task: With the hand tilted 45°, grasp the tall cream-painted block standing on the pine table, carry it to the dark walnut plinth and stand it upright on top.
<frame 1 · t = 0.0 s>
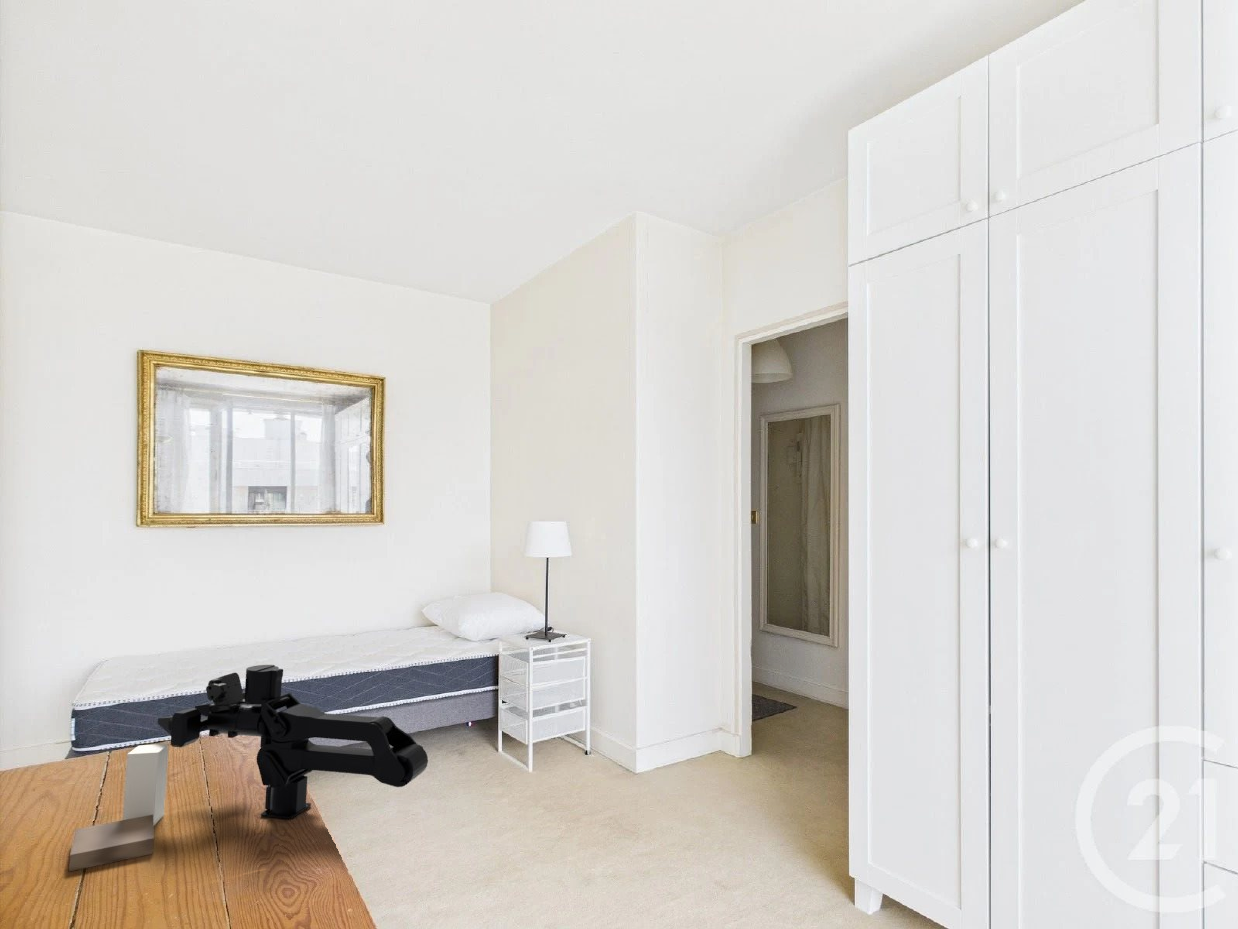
hand: (177, 714, 139), 16 cm above the table, tool horizontal, fingers open, 9 cm apart
walnut plinth: (113, 849, 117), on the table
cream block: (143, 822, 127), on the table
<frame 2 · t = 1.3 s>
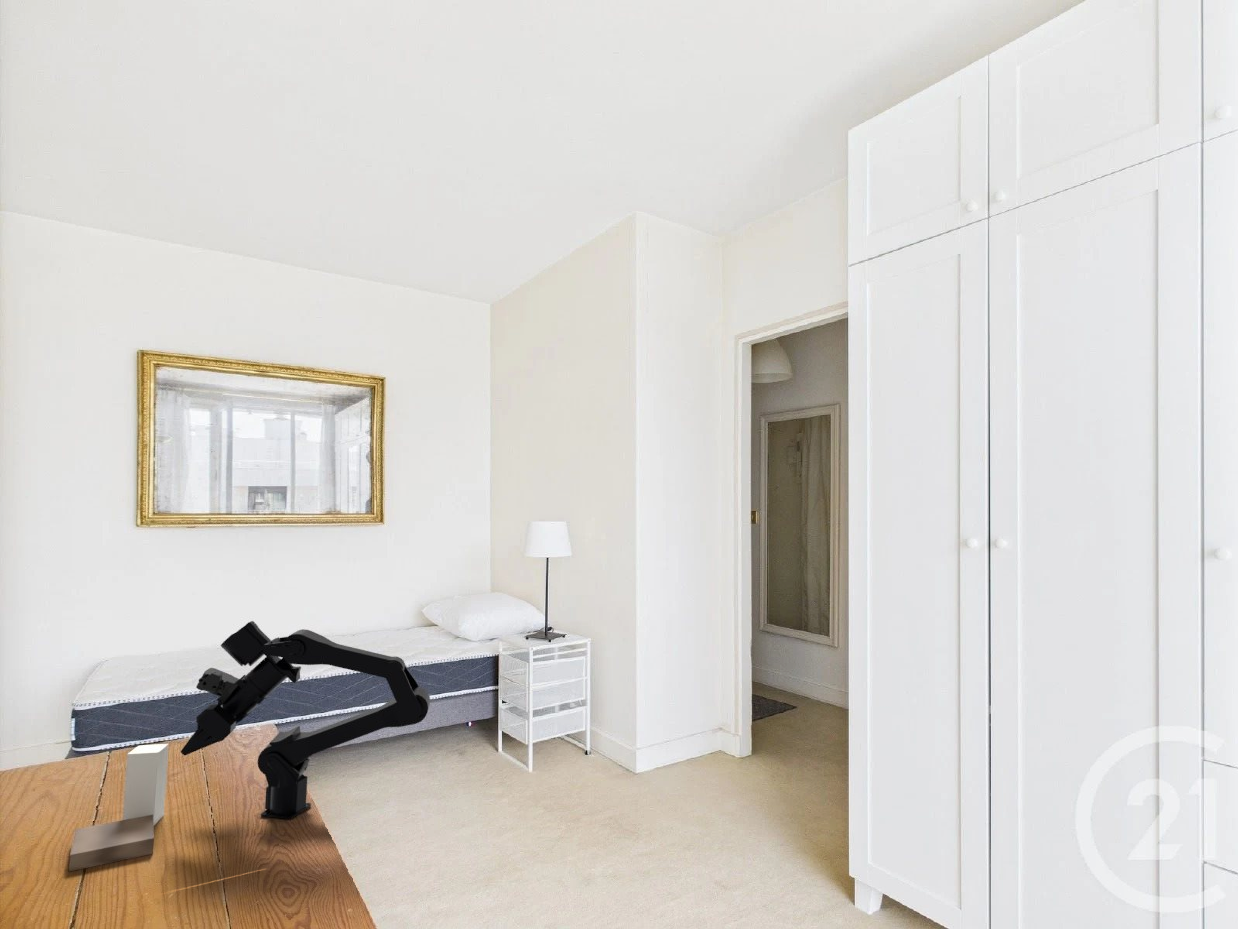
hand: (191, 745, 130), 13 cm above the table, tool tilted 45°, fingers open, 9 cm apart
nothing on the table moved.
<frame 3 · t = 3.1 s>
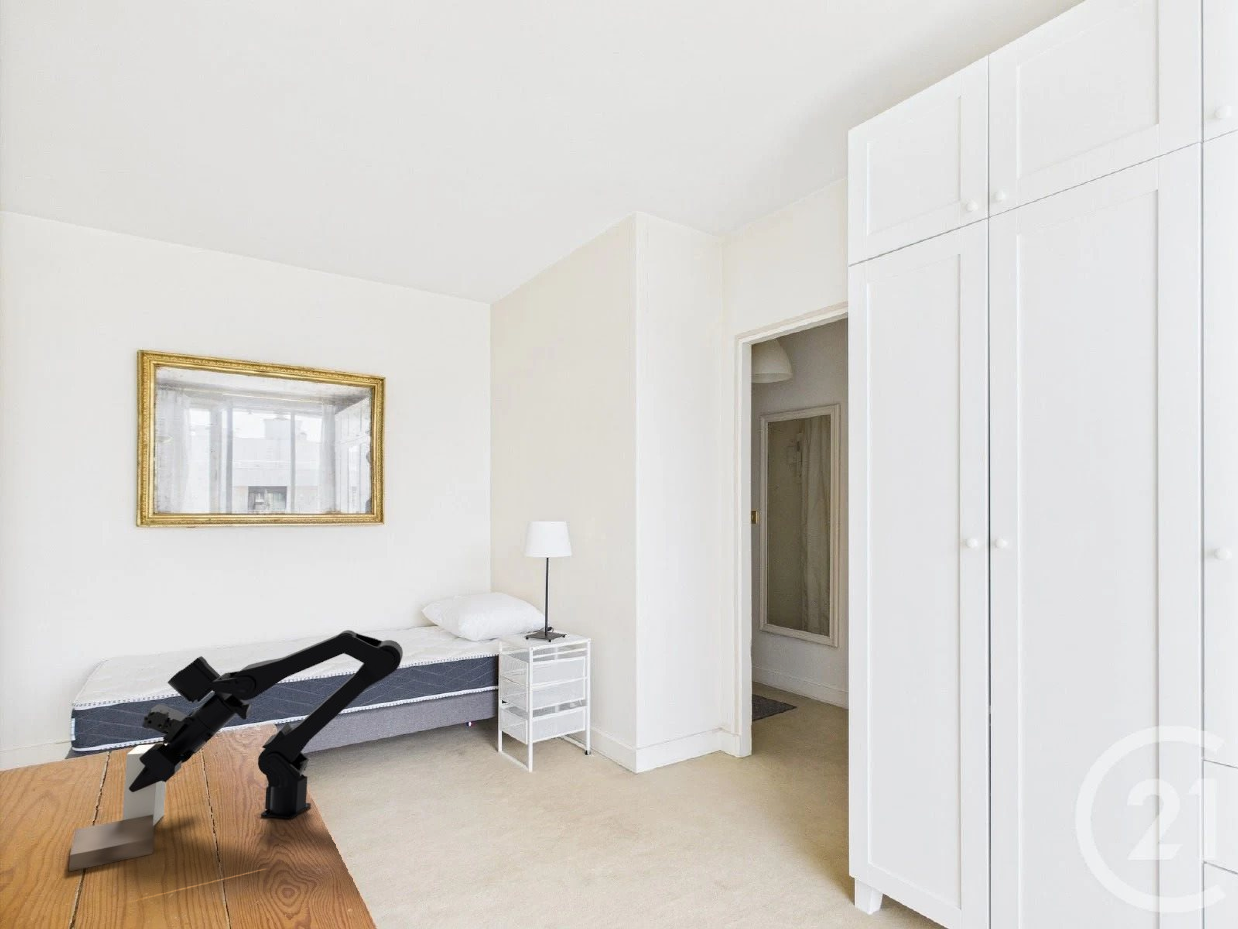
hand: (137, 784, 127), 7 cm above the table, tool tilted 45°, fingers closed on cream block, 5 cm apart
cream block: (143, 821, 127), on the table, touching gripper
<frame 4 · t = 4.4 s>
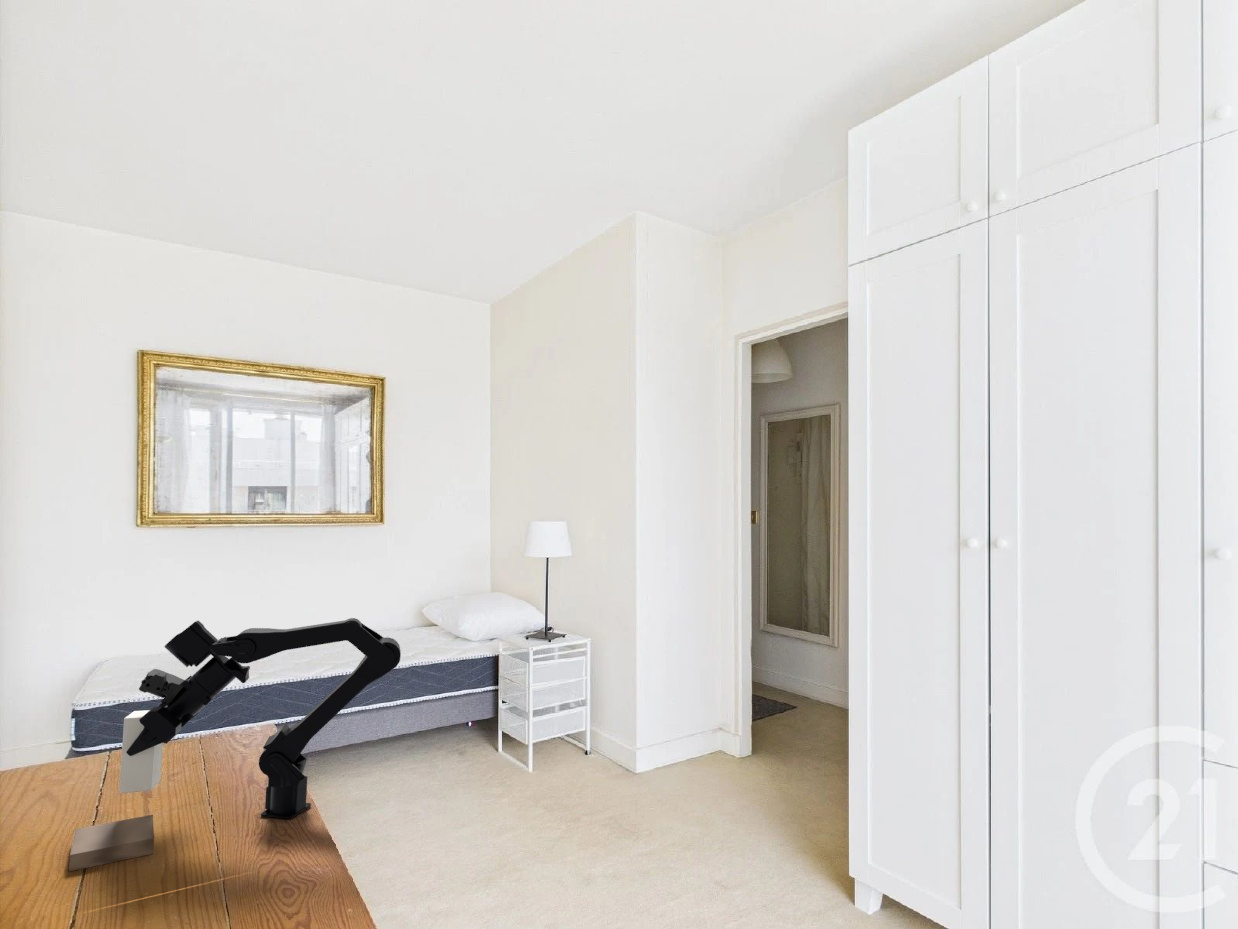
hand: (133, 749, 126), 14 cm above the table, tool tilted 45°, fingers closed on cream block, 5 cm apart
cream block: (140, 787, 126), point 7 cm above the table, touching gripper
when the fingers open (10 cm above the table, at t = 5.9 s): cream block stays where it is, resting on walnut plinth.
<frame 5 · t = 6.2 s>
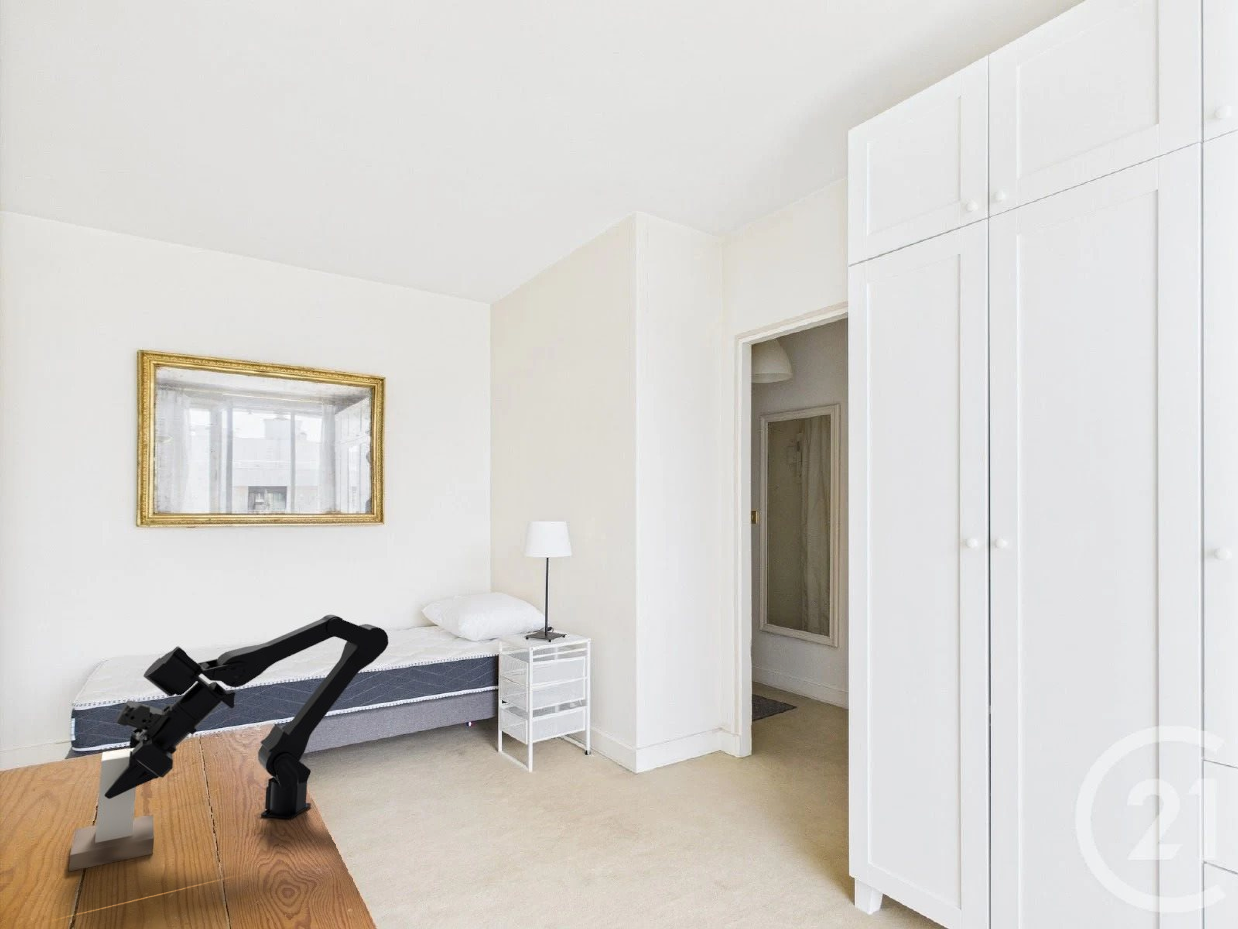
hand: (107, 788, 117), 10 cm above the table, tool tilted 45°, fingers open, 8 cm apart
cream block: (114, 833, 117), point 2 cm above the table, touching walnut plinth
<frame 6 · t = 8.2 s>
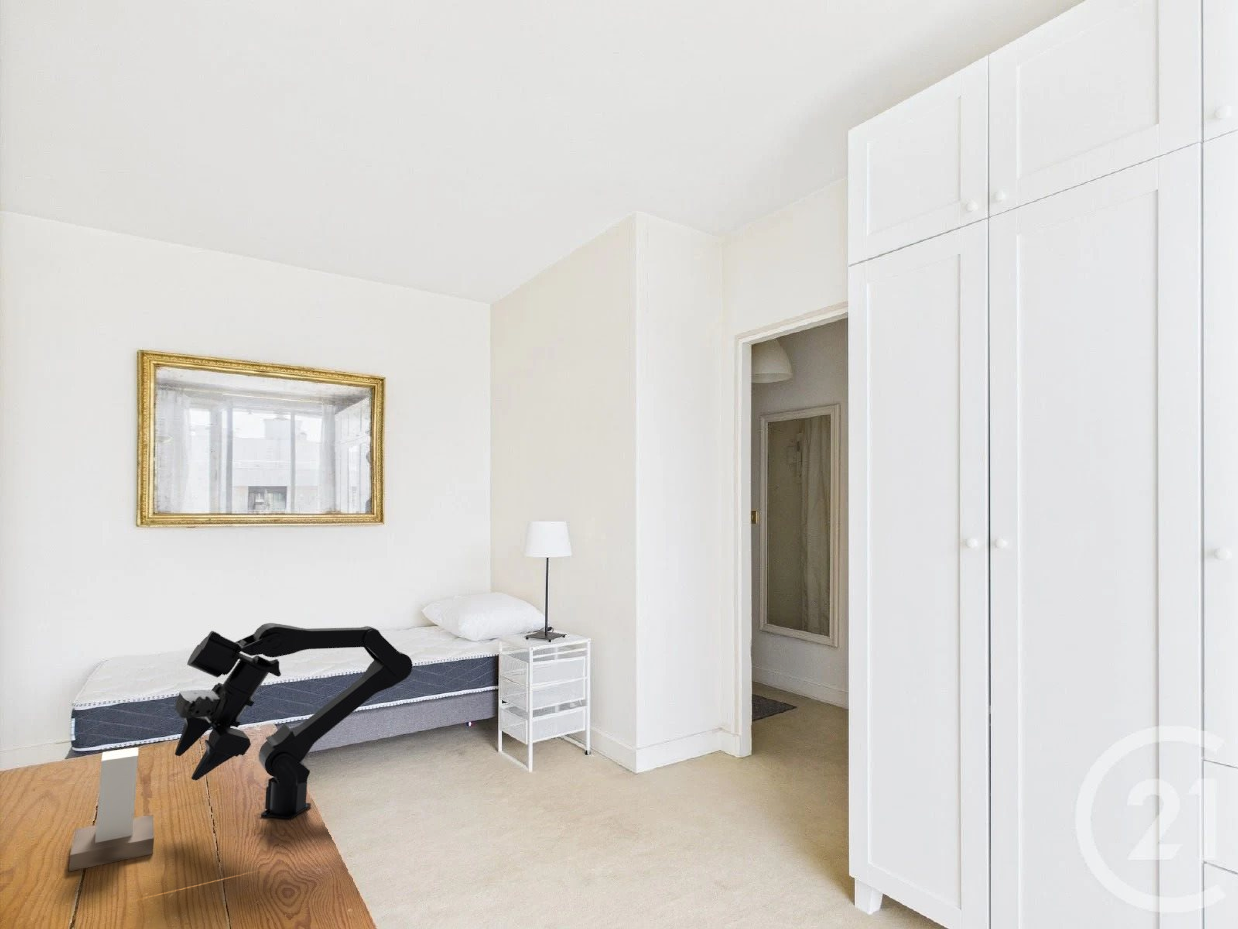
hand: (185, 767, 125), 11 cm above the table, tool tilted 30°, fingers open, 9 cm apart
nothing on the table moved.
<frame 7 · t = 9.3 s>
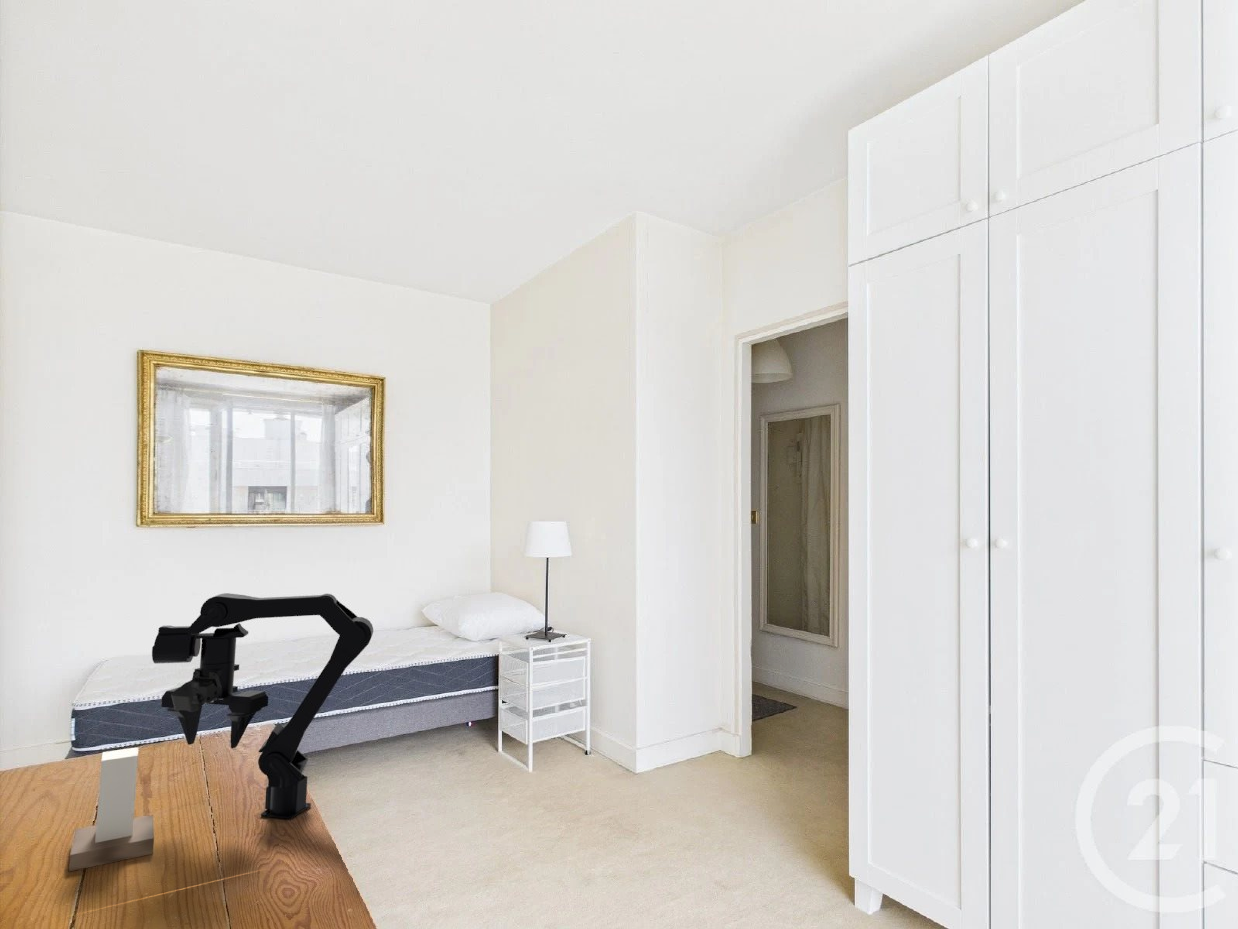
hand: (212, 746, 130), 13 cm above the table, tool pointing down, fingers open, 9 cm apart
nothing on the table moved.
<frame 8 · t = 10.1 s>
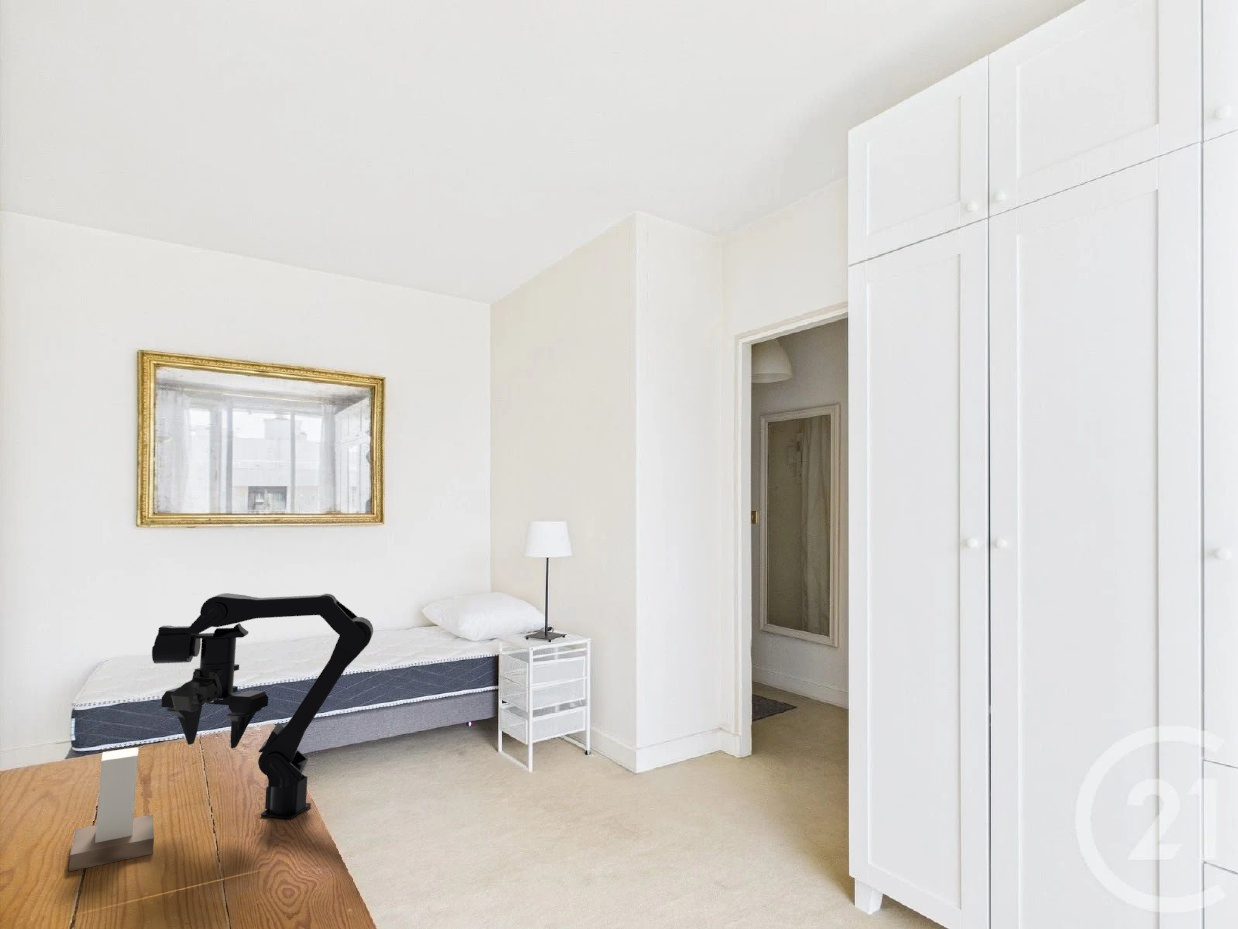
hand: (212, 746, 130), 13 cm above the table, tool pointing down, fingers open, 9 cm apart
nothing on the table moved.
at the end: cream block inside the target area on the walnut plinth (0.0 cm from its centre), point 2.5 cm above the walnut plinth's base; cream block tilted 0°; the gripper is holding nothing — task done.
